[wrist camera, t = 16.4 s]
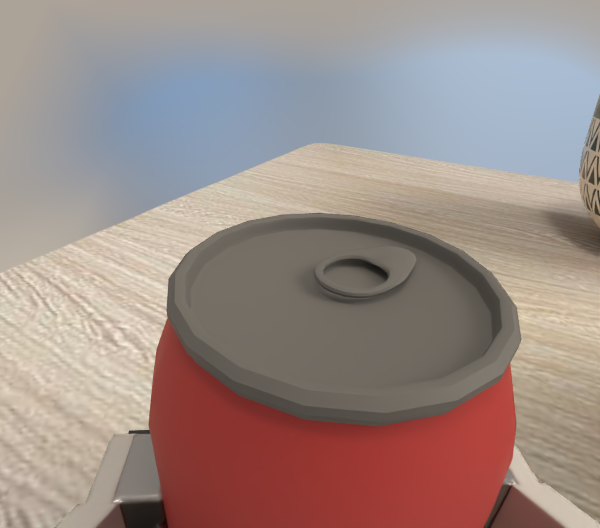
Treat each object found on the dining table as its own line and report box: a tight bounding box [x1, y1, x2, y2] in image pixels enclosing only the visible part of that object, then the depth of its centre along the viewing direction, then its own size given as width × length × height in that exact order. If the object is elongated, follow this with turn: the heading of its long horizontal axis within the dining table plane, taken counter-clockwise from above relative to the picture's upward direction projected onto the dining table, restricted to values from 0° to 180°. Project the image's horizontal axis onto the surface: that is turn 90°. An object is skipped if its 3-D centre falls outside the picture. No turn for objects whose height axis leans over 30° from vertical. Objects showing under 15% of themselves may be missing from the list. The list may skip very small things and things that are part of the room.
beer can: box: [149, 213, 521, 528], centre depth 10 cm, size 7×7×12 cm
